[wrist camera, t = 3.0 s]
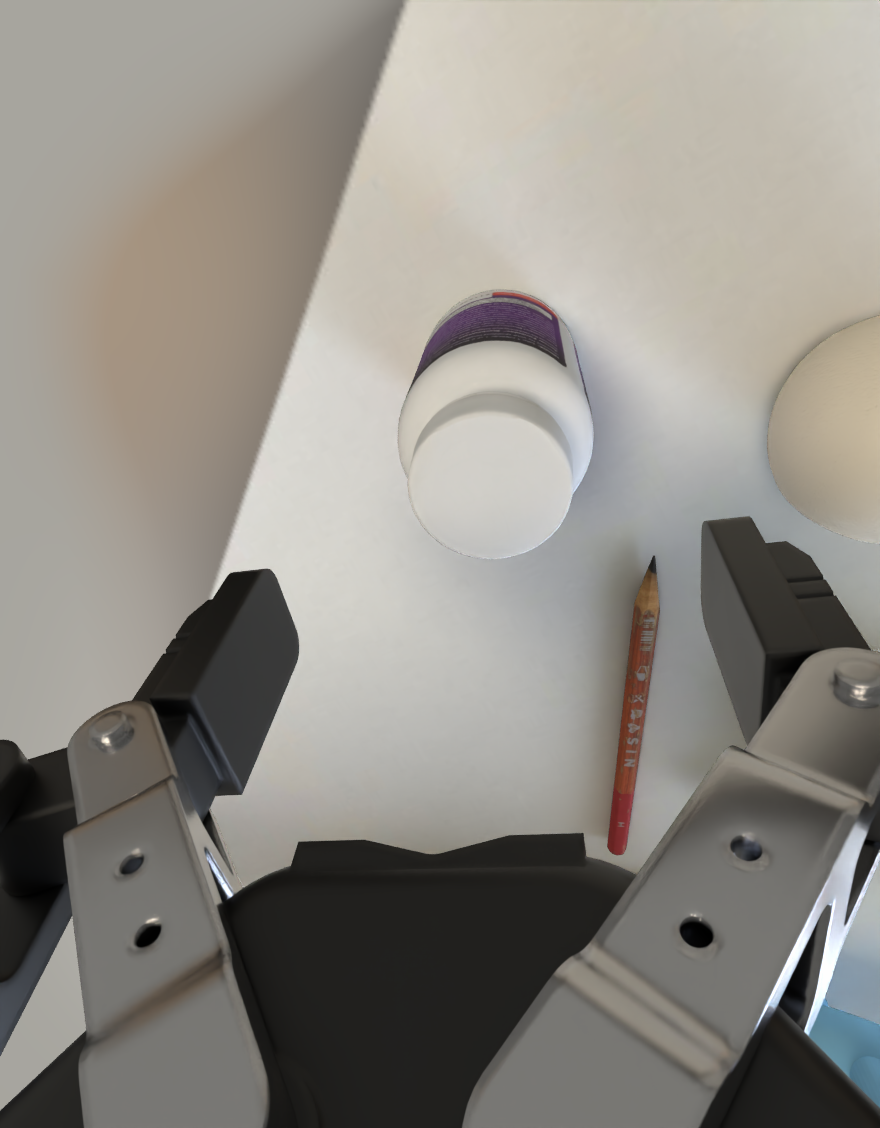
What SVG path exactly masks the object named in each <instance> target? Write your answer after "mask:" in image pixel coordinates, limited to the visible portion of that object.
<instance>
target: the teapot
mask: <svg viewBox="0 0 880 1128" xmlns="http://www.w3.org/2000/svg"><path fill="white" fill-rule="evenodd" d="M809 1037H810V1038H811V1039H812V1040H813V1041H814V1042H815V1043H816V1044H817V1045H818V1046H819V1047H820V1048H821V1049H822V1050H823V1051H824V1052H825V1053H826V1054H827V1055H828V1056H829V1057H830V1058H831V1059H832V1060H833V1061H834V1062H835V1063H836V1064H837V1065H838V1066H839V1067H840V1068H841V1069H842V1070H843V1071H844V1072H845V1073H846V1074H847V1075H848V1076H849V1077H850V1079H851V1080H852V1081H853V1082H854V1083H855V1084H856V1085H857V1086H858V1087H859V1088H860V1089H861V1090H862V1091H863V1092H864V1093H865V1094H866V1095H867V1096H868V1097H869V1098H870V1099H871V1100H872V1101H873V1102H874V1103H875V1104H876V1105H877V1106H878V1107H879V1108H880V1025H879V1024H876V1023H874V1022H871V1021H869V1020H866V1019H863V1018H860V1017H858V1016H855V1015H852V1014H849V1013H846V1012H843V1011H840V1010H837V1009H834V1008H831V1007H828V1003H827V1001H826V999H825V998H824V1000H823V1003H822V1005H821V1008H820V1010H819V1013H818V1015H817V1017H816V1020H815V1022H814V1024H813V1027H812V1029H811V1031H810V1033H809Z"/></svg>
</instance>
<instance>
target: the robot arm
mask: <svg viewBox="0 0 880 1128" xmlns="http://www.w3.org/2000/svg"><path fill="white" fill-rule="evenodd" d="M701 604H702V613H703V619H704V623H705V627H706V631H707V633H708V636H709V639H710V642H711V645H712V648H713V650H714V653H715V656H716V659H717V662H718V665H719V667H720V670H721V673H722V676H723V679H724V682H725V684H726V687H727V690H728V693H729V696H730V699H731V702H732V704H733V707H734V710H735V713H736V716H737V719H738V721H739V724H740V727H741V730H742V733H743V736H744V738H745V741H746V744H747V747H746V748H745V749H744V750H743V749H741V748H738V747H736V746H729V747H727V748H726V749H725V750H724V751H723V752H722V753H721V754H720V756H719V757H718V758H717V760H716V761H715V763H714V764H713V766H712V767H711V769H710V770H709V771H708V773H707V774H706V776H705V777H704V779H703V780H702V782H701V783H700V784H699V786H698V787H697V789H696V790H695V792H694V793H693V795H692V796H691V797H690V799H689V800H688V802H687V803H686V805H685V806H684V808H683V809H682V810H681V812H680V813H679V815H678V816H677V818H676V819H675V821H674V822H673V823H672V825H671V826H670V828H669V829H668V831H667V832H666V834H665V835H664V836H663V838H662V839H661V841H660V842H659V844H658V845H657V847H656V848H655V849H654V851H653V852H652V854H651V855H650V857H649V858H648V860H647V861H646V862H645V864H644V865H643V867H642V868H641V870H640V871H639V873H638V874H637V875H636V874H634V873H632V872H630V871H627V870H625V869H623V868H621V867H619V866H616V865H613V864H610V863H608V862H605V861H602V860H598V859H593V858H589V857H586V850H585V842H584V834H583V833H573V834H540V835H509V836H505V837H501V838H497V839H494V840H490V841H486V842H482V843H479V844H475V845H471V846H467V847H463V848H460V849H456V850H452V851H448V852H444V853H440V854H424V853H420V852H416V851H411V850H407V849H402V848H398V847H394V846H389V845H385V844H380V843H376V842H372V841H367V840H341V841H308V842H298V845H297V848H296V851H295V855H294V858H293V861H292V864H291V866H289V867H285V868H283V869H280V870H278V871H275V872H273V873H270V874H268V875H266V876H264V877H262V878H260V879H258V880H256V881H254V882H252V883H251V884H249V885H247V886H246V887H244V888H243V887H242V885H241V882H240V880H239V877H238V875H237V872H236V870H235V867H234V864H233V862H232V859H231V857H230V854H229V852H228V849H227V846H226V844H225V841H224V839H223V836H222V834H221V831H220V828H219V826H218V823H217V821H216V818H215V817H214V815H213V813H212V811H211V809H210V806H211V804H212V802H213V800H214V797H215V796H223V795H242V793H243V791H244V788H245V786H246V784H247V781H248V779H249V776H250V774H251V772H252V769H253V767H254V764H255V762H256V760H257V757H258V755H259V752H260V750H261V748H262V745H263V743H264V740H265V738H266V736H267V733H268V731H269V728H270V726H271V723H272V721H273V719H274V716H275V714H276V711H277V709H278V707H279V704H280V702H281V699H282V697H283V695H284V692H285V690H286V687H287V685H288V683H289V680H290V678H291V675H292V673H293V671H294V668H295V666H296V663H297V660H298V655H299V639H298V634H297V630H296V628H295V625H294V622H293V620H292V617H291V614H290V612H289V609H288V607H287V604H286V601H285V599H284V596H283V593H282V591H281V588H280V586H279V583H278V580H277V578H276V576H275V574H274V573H273V572H272V571H271V570H270V569H259V570H250V571H241V572H233V573H230V574H229V575H228V576H227V578H226V579H225V581H224V582H223V584H222V585H221V587H220V588H219V590H218V592H217V593H216V595H215V596H214V598H213V599H212V600H207V601H206V602H205V603H204V604H203V605H202V606H200V607H199V608H198V609H197V610H196V611H194V612H193V613H192V614H191V615H190V616H188V618H187V619H186V621H185V622H184V623H183V625H182V626H181V628H180V630H179V631H178V633H177V634H176V639H173V640H172V641H171V643H170V645H169V646H168V647H167V649H166V654H163V655H162V656H161V658H160V659H159V661H158V662H157V664H156V665H155V667H154V668H153V670H152V671H151V673H150V674H149V676H148V677H147V679H146V680H145V682H144V683H143V685H142V686H141V688H140V689H139V691H138V692H137V694H136V695H135V697H134V698H133V700H132V701H127V702H122V703H119V704H116V705H113V706H111V707H108V708H106V709H104V710H102V711H100V712H99V713H97V714H96V715H94V716H92V717H91V718H90V719H89V720H87V721H86V722H85V723H84V724H83V725H82V726H80V727H79V729H78V730H77V731H76V732H75V733H74V735H73V736H72V738H71V740H70V742H69V744H68V747H67V748H64V749H61V750H57V751H54V752H51V753H48V754H44V755H41V756H38V757H35V758H32V759H28V760H27V758H26V757H25V756H24V754H23V753H22V751H21V750H20V749H19V748H18V746H17V745H16V744H15V743H14V742H12V741H9V740H0V1056H1V1054H2V1052H3V1050H4V1048H5V1046H6V1044H7V1042H8V1040H9V1038H10V1036H11V1034H12V1032H13V1030H14V1028H15V1026H16V1024H17V1023H18V1021H19V1019H20V1016H21V1015H22V1012H23V1011H24V1009H25V1007H26V1005H27V1003H28V1001H29V999H30V997H31V995H32V993H33V991H34V989H35V987H36V985H37V983H38V981H39V979H40V977H41V975H42V974H43V972H44V970H45V968H46V966H47V964H48V962H49V960H50V958H51V956H52V954H53V952H54V950H55V948H56V946H57V944H58V942H59V940H60V938H61V936H62V934H63V932H64V930H65V928H66V926H67V924H68V922H69V921H70V919H71V917H72V916H73V925H74V933H75V941H76V949H77V957H78V965H79V973H80V982H81V990H82V998H83V1005H84V1013H85V1022H86V1031H85V1032H84V1033H83V1034H82V1035H81V1036H80V1037H79V1038H78V1039H77V1040H75V1041H74V1043H72V1044H71V1045H70V1046H69V1047H68V1048H67V1049H66V1050H65V1051H64V1052H63V1053H61V1054H60V1055H59V1056H58V1057H57V1058H56V1059H55V1060H54V1061H53V1062H52V1063H51V1064H50V1065H49V1066H48V1067H46V1068H45V1069H44V1070H43V1071H42V1072H41V1073H40V1074H39V1075H38V1076H37V1077H36V1078H35V1079H34V1080H33V1081H32V1082H31V1083H29V1084H28V1085H27V1086H26V1087H25V1088H24V1089H23V1090H22V1091H21V1092H20V1093H19V1094H18V1095H17V1096H15V1097H14V1098H13V1099H12V1100H11V1101H10V1102H9V1103H8V1104H7V1105H6V1106H5V1107H4V1108H3V1109H2V1110H1V1111H0V1128H880V1108H879V1107H878V1106H877V1105H876V1104H875V1103H874V1102H873V1101H872V1100H871V1099H870V1098H869V1097H868V1096H867V1095H866V1094H865V1093H864V1092H863V1091H862V1090H861V1089H860V1088H859V1087H858V1086H857V1085H856V1084H855V1083H854V1082H853V1081H852V1080H851V1079H850V1077H849V1076H848V1075H847V1074H846V1073H845V1072H844V1071H843V1070H842V1069H841V1068H840V1067H839V1066H838V1065H837V1064H836V1063H835V1062H834V1061H833V1060H832V1059H831V1058H830V1057H829V1056H828V1055H827V1054H826V1053H825V1052H824V1051H823V1050H822V1049H821V1048H820V1047H819V1046H818V1045H817V1044H816V1043H815V1042H814V1041H813V1040H812V1039H811V1038H810V1037H809V1033H810V1031H811V1029H812V1027H813V1024H814V1022H815V1020H816V1017H817V1015H818V1013H819V1010H820V1008H821V1005H822V1003H823V1000H824V998H825V995H826V992H827V990H828V987H829V984H830V981H831V978H832V975H833V972H834V969H835V966H836V963H837V960H838V957H839V954H840V951H841V948H842V946H843V943H844V941H845V939H846V936H847V934H848V932H849V929H850V927H851V925H852V923H853V920H854V918H855V916H856V913H857V911H858V909H859V907H860V904H861V902H862V900H863V897H864V895H865V893H866V891H867V888H868V886H869V884H870V881H871V879H872V877H873V875H874V872H875V870H876V868H877V866H878V863H879V861H880V653H878V652H874V651H871V649H870V648H869V646H868V645H867V643H866V642H865V640H864V639H863V637H862V635H861V634H860V632H859V631H858V629H857V628H856V626H855V625H854V623H853V621H852V620H851V618H850V617H849V615H848V614H847V612H846V611H845V609H844V608H843V606H842V604H841V603H840V601H839V600H838V598H837V597H836V596H834V595H833V591H832V589H831V587H830V586H829V584H828V583H827V581H826V580H823V575H822V574H821V572H820V570H819V569H818V567H817V566H816V564H815V563H814V561H813V560H812V558H811V557H810V556H809V555H807V554H806V553H804V552H803V551H801V550H799V549H798V548H796V547H795V546H793V545H791V544H790V543H788V542H787V541H784V542H774V543H765V541H764V539H763V537H762V536H761V534H760V532H759V530H758V529H757V527H756V525H755V523H754V521H753V520H752V518H751V517H749V516H747V517H738V518H729V519H720V520H711V521H704V522H703V525H702V536H701Z"/></svg>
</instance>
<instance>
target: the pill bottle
mask: <svg viewBox="0 0 880 1128" xmlns="http://www.w3.org/2000/svg"><path fill="white" fill-rule="evenodd" d="M593 439H594V431H593V421H592V414H591V408H590V404H589V400H588V396H587V392H586V388H585V384H584V380H583V376H582V373H581V369H580V364H579V360H578V356H577V351H576V348H575V345H574V342H573V340H572V338H571V335H570V333H569V331H568V329H567V327H566V326H565V324H564V322H563V321H562V320H561V318H560V317H559V316H558V315H557V314H556V313H555V312H554V311H553V310H552V309H551V308H550V307H549V306H547V305H546V304H545V303H543V302H542V301H540V300H538V299H537V298H535V297H533V296H530V295H527V294H525V293H521V292H517V291H512V290H490V291H485V292H481V293H478V294H475V295H472V296H470V297H468V298H466V299H464V300H462V301H461V302H459V303H458V304H456V305H455V306H453V307H452V308H451V309H450V310H449V311H448V312H447V313H446V314H445V315H444V316H443V317H442V318H441V320H440V321H439V322H438V324H437V325H436V327H435V328H434V330H433V332H432V334H431V335H430V337H429V339H428V341H427V344H426V347H425V350H424V352H423V355H422V358H421V361H420V363H419V366H418V369H417V371H416V374H415V377H414V379H413V382H412V384H411V387H410V389H409V391H408V394H407V396H406V399H405V401H404V404H403V407H402V410H401V415H400V418H399V425H398V449H399V455H400V460H401V464H402V466H403V469H404V472H405V474H406V476H407V478H408V492H409V498H410V502H411V505H412V508H413V511H414V513H415V515H416V517H417V518H418V520H419V522H420V523H421V525H422V526H423V528H424V529H425V530H426V531H427V532H428V533H429V534H430V535H431V536H432V537H433V538H434V539H435V540H436V541H438V542H439V543H441V544H442V545H444V546H445V547H447V548H449V549H451V550H453V551H455V552H457V553H460V554H463V555H466V556H469V557H474V558H481V559H500V558H508V557H513V556H517V555H520V554H523V553H525V552H527V551H530V550H532V549H534V548H535V547H537V546H539V545H540V544H541V543H543V542H544V541H546V540H547V539H548V538H549V537H550V536H551V535H552V534H553V533H554V532H555V531H556V530H557V529H558V528H559V526H560V525H561V523H562V522H563V520H564V518H565V516H566V514H567V512H568V510H569V507H570V504H571V500H572V496H573V493H574V492H575V490H576V489H577V488H578V486H579V484H580V483H581V481H582V479H583V478H584V475H585V473H586V471H587V469H588V466H589V463H590V460H591V455H592V451H593Z"/></svg>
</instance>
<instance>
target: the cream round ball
mask: <svg viewBox="0 0 880 1128" xmlns="http://www.w3.org/2000/svg"><path fill="white" fill-rule="evenodd" d="M767 452H768V459H769V464H770V467H771V470H772V473H773V476H774V479H775V481H776V484H777V486H778V488H779V490H780V491H781V493H782V494H783V496H784V497H785V498H786V499H787V501H788V502H789V503H790V504H791V505H792V506H793V507H795V508H796V509H797V510H798V511H799V512H800V513H801V514H803V515H804V516H805V517H807V518H808V519H810V520H812V521H813V522H815V523H817V524H818V525H820V526H822V527H824V528H826V529H828V530H830V531H832V532H835V533H837V534H840V535H842V536H845V537H848V538H851V539H855V540H857V541H862V542H868V543H876V544H880V315H878V316H876V317H872V318H869V319H866V320H864V321H861V322H858V323H856V324H854V325H852V326H849V327H847V328H845V329H843V330H841V331H839V332H837V333H835V334H834V335H832V336H830V337H829V338H827V339H826V340H825V341H823V342H822V343H821V344H819V345H818V346H817V347H816V348H814V349H813V350H812V351H811V352H810V353H808V355H806V357H805V358H804V359H803V360H802V361H801V362H800V363H799V364H798V365H797V367H796V368H795V369H794V370H793V372H792V373H791V375H790V376H789V378H788V379H787V381H786V382H785V384H784V386H783V388H782V389H781V391H780V393H779V395H778V397H777V399H776V402H775V404H774V407H773V410H772V413H771V417H770V421H769V426H768V435H767Z"/></svg>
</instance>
